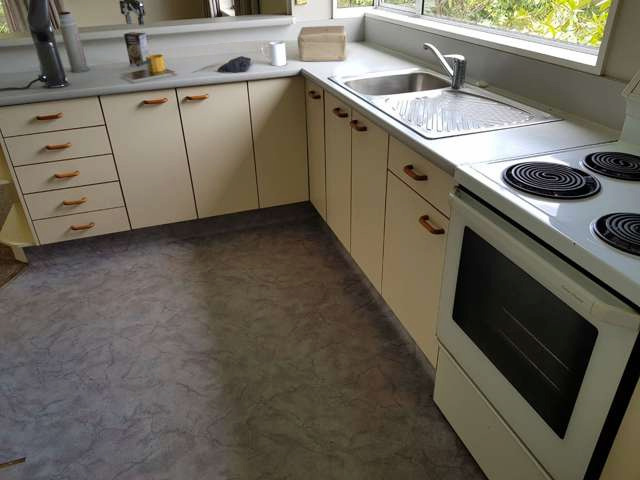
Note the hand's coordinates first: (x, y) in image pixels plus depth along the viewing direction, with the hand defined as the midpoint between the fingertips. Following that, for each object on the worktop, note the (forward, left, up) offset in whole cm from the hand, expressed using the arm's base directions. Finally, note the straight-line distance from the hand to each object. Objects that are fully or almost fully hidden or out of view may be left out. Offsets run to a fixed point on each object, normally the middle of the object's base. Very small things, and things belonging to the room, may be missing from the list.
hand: (135, 24), depth 243 cm
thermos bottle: (-22, +32, -23) cm, 45 cm away
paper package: (+88, -34, -23) cm, 97 cm away
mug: (+58, -30, -23) cm, 69 cm away
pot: (+1, -5, -21) cm, 22 cm away
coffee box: (+6, +20, -23) cm, 31 cm away
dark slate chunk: (+40, -22, -23) cm, 51 cm away
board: (-1, -6, -23) cm, 24 cm away
